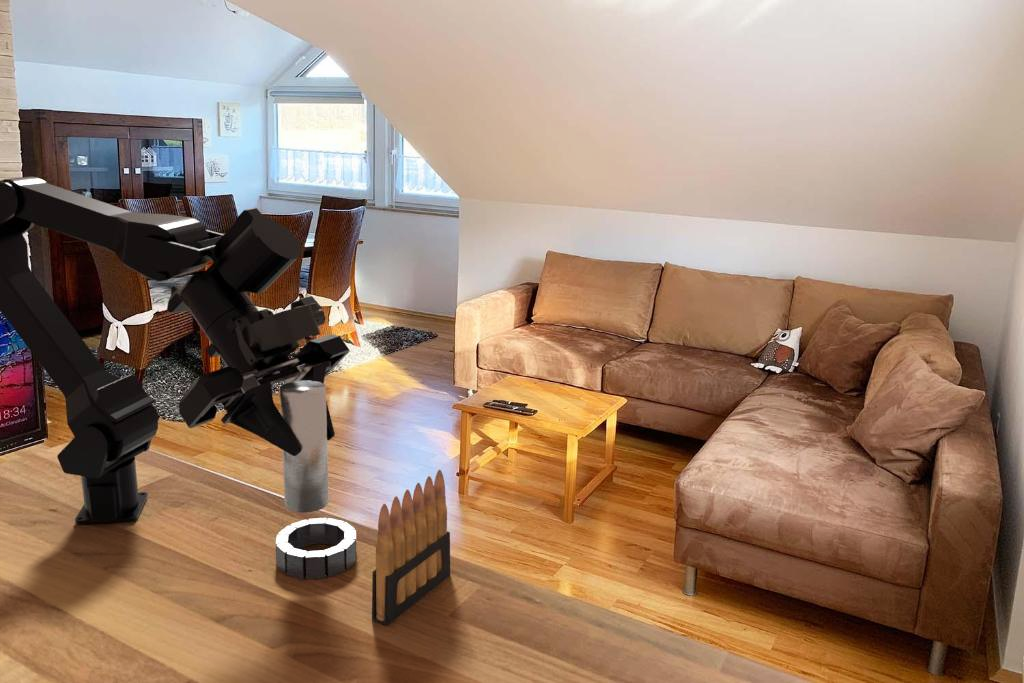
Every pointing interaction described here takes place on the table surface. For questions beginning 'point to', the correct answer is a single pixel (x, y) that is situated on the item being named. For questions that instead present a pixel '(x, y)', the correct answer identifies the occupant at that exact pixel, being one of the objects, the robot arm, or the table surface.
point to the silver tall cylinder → (306, 446)
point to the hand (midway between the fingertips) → (315, 445)
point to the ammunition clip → (410, 550)
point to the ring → (316, 561)
